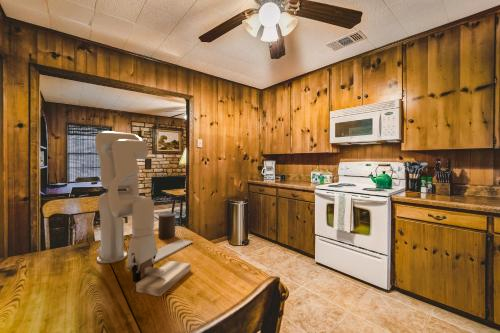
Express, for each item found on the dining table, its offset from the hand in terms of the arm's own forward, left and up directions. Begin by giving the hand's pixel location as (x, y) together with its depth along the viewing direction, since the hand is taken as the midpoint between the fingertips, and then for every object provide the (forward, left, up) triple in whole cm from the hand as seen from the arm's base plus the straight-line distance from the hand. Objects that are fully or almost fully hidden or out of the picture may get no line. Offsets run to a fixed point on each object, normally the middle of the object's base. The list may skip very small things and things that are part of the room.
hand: (143, 277), depth 91 cm
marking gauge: (+4, 0, -2) cm, 4 cm away
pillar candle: (-25, +49, -2) cm, 55 cm away
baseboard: (-12, +30, -3) cm, 32 cm away
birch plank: (+7, +4, -2) cm, 8 cm away
